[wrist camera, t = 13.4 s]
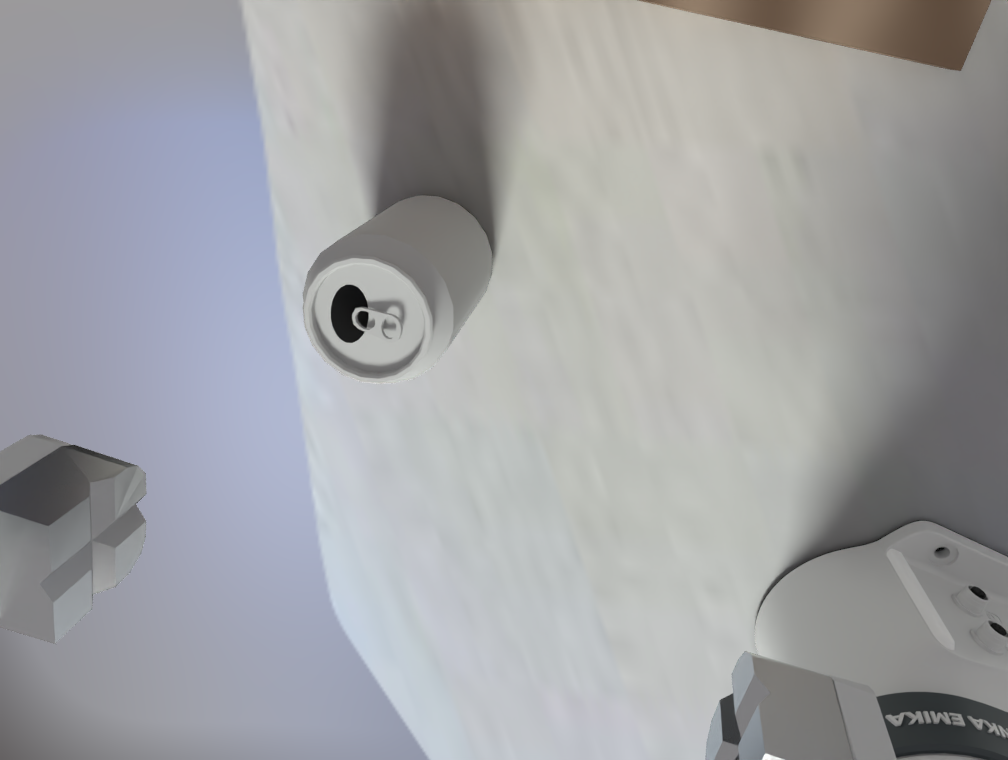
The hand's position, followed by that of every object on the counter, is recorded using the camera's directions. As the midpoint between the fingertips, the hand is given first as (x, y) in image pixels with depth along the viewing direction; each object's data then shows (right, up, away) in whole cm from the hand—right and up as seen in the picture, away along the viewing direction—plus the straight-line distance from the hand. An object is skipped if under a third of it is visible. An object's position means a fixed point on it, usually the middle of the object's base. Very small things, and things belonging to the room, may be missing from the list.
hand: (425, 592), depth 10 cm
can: (-3, +10, +36) cm, 37 cm away
